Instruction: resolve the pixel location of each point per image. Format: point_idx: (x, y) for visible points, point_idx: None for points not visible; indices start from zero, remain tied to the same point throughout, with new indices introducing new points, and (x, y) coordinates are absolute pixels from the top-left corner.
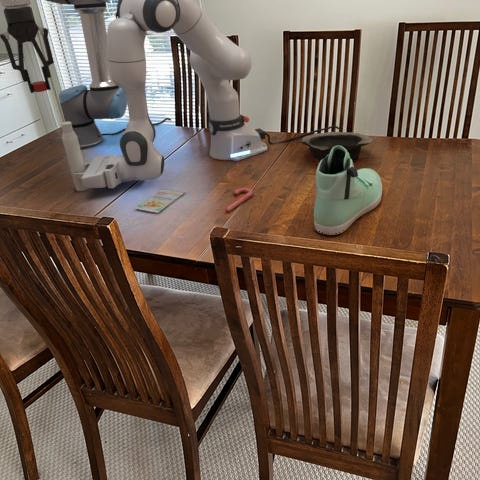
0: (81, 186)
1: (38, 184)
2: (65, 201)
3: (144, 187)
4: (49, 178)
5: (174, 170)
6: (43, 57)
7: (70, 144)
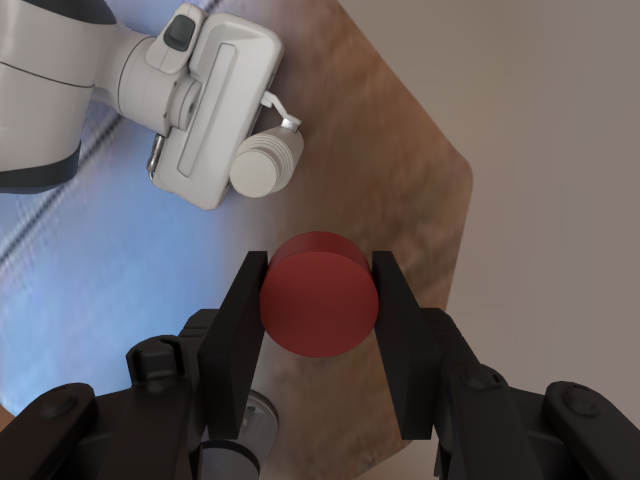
0: None
1: (381, 239)
2: (342, 82)
3: None
4: None
5: None
6: (112, 478)
7: (271, 133)
